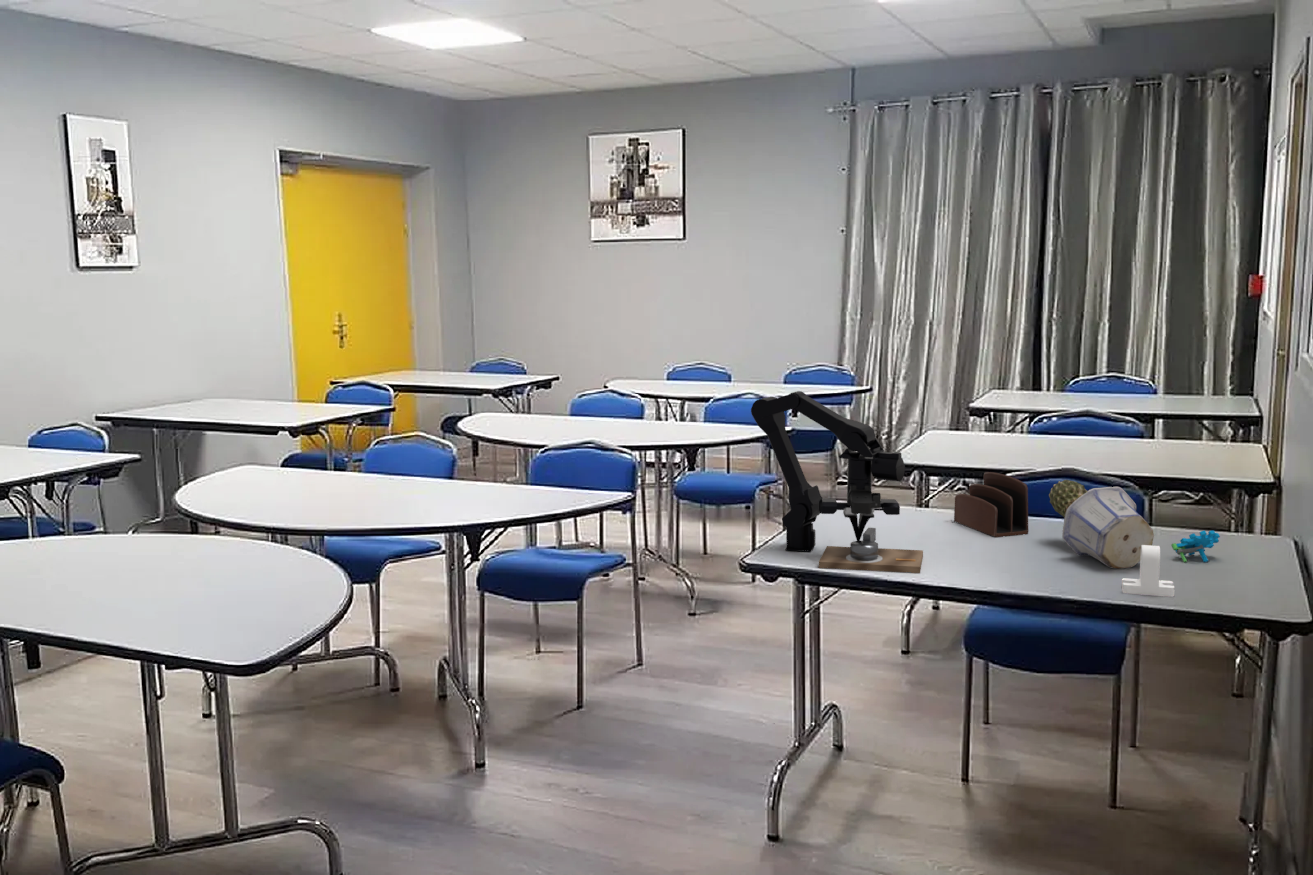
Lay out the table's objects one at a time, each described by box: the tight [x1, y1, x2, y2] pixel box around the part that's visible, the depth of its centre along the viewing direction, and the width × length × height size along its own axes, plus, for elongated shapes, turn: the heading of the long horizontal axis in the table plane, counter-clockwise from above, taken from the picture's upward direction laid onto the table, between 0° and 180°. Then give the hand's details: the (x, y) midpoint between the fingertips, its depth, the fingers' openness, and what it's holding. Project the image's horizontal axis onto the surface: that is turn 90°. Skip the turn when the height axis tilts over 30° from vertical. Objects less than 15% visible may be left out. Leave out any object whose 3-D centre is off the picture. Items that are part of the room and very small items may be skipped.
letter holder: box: [953, 471, 1029, 538], centre depth 290 cm, size 10×20×14 cm, turn 16°
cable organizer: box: [1121, 545, 1175, 598], centre depth 231 cm, size 5×10×10 cm, turn 70°
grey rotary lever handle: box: [849, 527, 879, 560], centre depth 261 cm, size 13×6×4 cm, turn 159°
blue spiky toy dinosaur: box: [1170, 530, 1221, 563], centre depth 255 cm, size 11×6×10 cm
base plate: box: [818, 545, 924, 574], centre depth 260 cm, size 23×15×2 cm, turn 74°
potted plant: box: [1048, 479, 1155, 570], centre depth 261 cm, size 18×18×30 cm
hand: (858, 541), depth 265 cm, fingers closed
